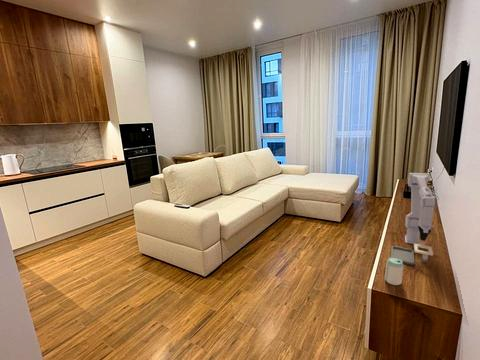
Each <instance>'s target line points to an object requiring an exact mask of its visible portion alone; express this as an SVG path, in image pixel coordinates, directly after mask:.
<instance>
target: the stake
mask: <svg viewBox="0 0 480 360" xmlns="http://www.w3.org/2000/svg"><path fill="white" fill-rule="evenodd" d="M421 256H422V257H421V264H427V263H428V259H429V255H426V254H422V255H421Z"/></svg>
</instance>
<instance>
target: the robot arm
mask: <svg viewBox="0 0 480 360" xmlns="http://www.w3.org/2000/svg"><path fill="white" fill-rule="evenodd" d="M429 179H430V174H428V172H424V173H422V172H409V173H408V174H407V186H408V187H410V191H411V194H410V197H411V198H410V199H411V201H410V213H408V214H407V215H406V216H405V221H404V226H405V227H406V235H404V240H405V241H404V243H406V244H412V245H414V244H419V243H418V237H419V233H420V239H421V240H423V241H425V240H426V238H427V236H428V237H429V234H431V232H432V230H431V228H434V227H435V226H434V224H432V223H433V217H434V212H435V211H434V210H435V208H436V207H437V204H438V199H437V198H438V197H437V196H435V195H434V194H433V192H432V190H431V188H430V187H428V183H429ZM419 245H420V244H419Z"/></svg>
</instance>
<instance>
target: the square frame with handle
mask: <svg viewBox="0 0 480 360" xmlns="http://www.w3.org/2000/svg"><path fill="white" fill-rule="evenodd" d="M428 238H429V235H428V236H427V238H426V240H425V241H423V240H421V239H420V233H419V237H418V243H419V244H420V245H419V244H413V252H414V253H417V254H422V255H423V254H426V255H428V256H432V257H433V256H434V252H433V247H432V246H429V245H427V244H428ZM419 248H420V249H421V248H422V249H426V250H428V251H425V250H420V249H419Z"/></svg>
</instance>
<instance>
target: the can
mask: <svg viewBox="0 0 480 360" xmlns="http://www.w3.org/2000/svg"><path fill="white" fill-rule="evenodd" d="M403 273H404V263H402V260H401V259H399V258H396V257H391V256H390V257H388V259H387V260H386V265H385V273H384V280H385V282H387V283H388V284H390V285H393V286H399V285H401V284H402V281H403V280H402V279H403Z"/></svg>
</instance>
